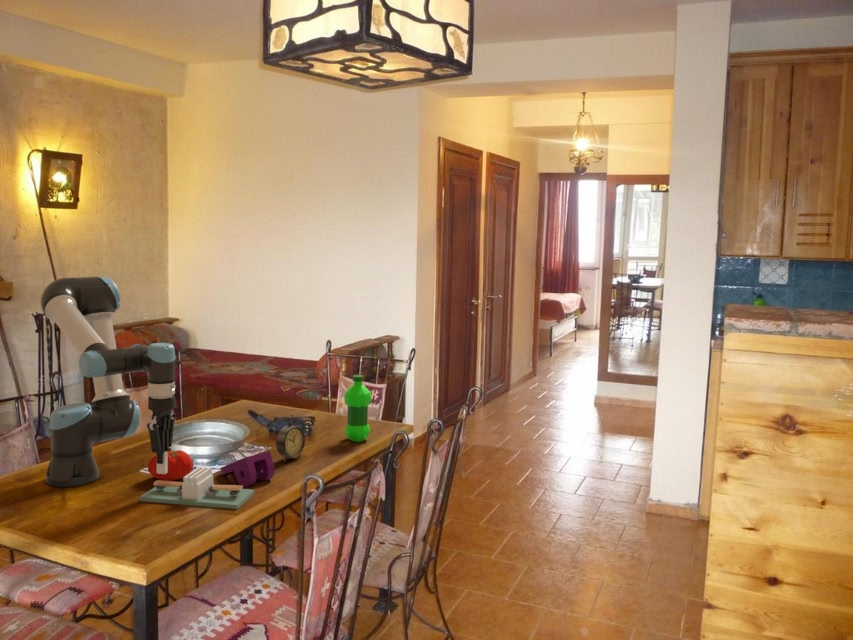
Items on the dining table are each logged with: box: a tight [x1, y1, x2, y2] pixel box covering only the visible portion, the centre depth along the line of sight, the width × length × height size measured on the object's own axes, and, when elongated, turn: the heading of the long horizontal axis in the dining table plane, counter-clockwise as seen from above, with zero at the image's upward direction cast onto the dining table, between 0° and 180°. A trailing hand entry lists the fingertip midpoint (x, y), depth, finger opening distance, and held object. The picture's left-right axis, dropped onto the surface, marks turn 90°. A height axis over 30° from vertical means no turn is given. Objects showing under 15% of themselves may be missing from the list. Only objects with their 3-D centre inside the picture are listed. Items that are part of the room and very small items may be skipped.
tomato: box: [147, 449, 195, 481], centre depth 235 cm, size 14×13×9 cm
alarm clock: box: [275, 413, 306, 464], centre depth 257 cm, size 11×5×16 cm, turn 150°
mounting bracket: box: [220, 450, 275, 488], centre depth 236 cm, size 9×8×18 cm
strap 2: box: [208, 483, 244, 491], centre depth 217 cm, size 10×3×1 cm, turn 81°
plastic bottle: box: [344, 374, 372, 443], centre depth 283 cm, size 10×10×25 cm
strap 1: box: [153, 479, 184, 488], centre depth 220 cm, size 10×3×1 cm, turn 81°
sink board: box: [138, 466, 255, 510], centre depth 218 cm, size 30×13×8 cm, turn 81°
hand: (162, 472), depth 220 cm, fingers closed
